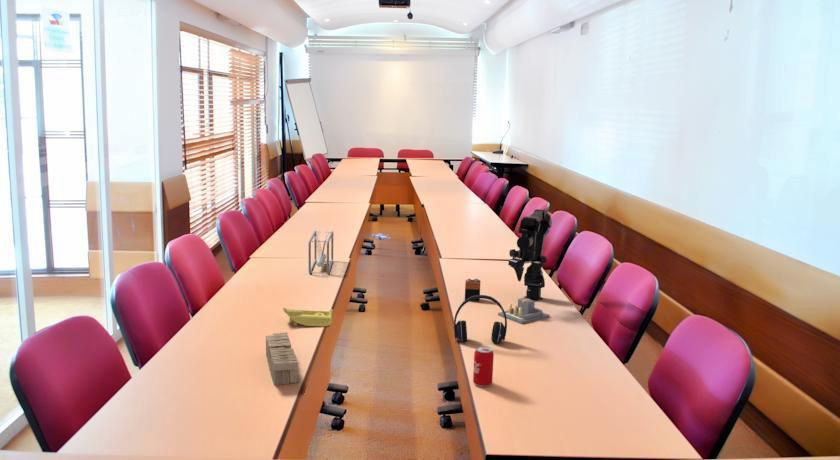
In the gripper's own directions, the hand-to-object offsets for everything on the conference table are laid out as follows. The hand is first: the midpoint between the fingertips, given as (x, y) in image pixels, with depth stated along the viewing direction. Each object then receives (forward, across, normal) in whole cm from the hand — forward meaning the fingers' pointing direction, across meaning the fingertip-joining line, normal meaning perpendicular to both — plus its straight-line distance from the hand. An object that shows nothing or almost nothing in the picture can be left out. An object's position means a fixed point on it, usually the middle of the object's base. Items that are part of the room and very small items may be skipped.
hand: (526, 279), depth 295 cm
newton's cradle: (+13, +42, -110) cm, 119 cm away
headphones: (+13, +46, +20) cm, 52 cm away
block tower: (+14, +120, +3) cm, 121 cm away
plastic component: (+14, +90, -35) cm, 97 cm away
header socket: (+13, +8, +8) cm, 17 cm away
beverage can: (+13, +71, +50) cm, 88 cm away
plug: (+12, +8, +8) cm, 16 cm away
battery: (+13, +12, -22) cm, 28 cm away
